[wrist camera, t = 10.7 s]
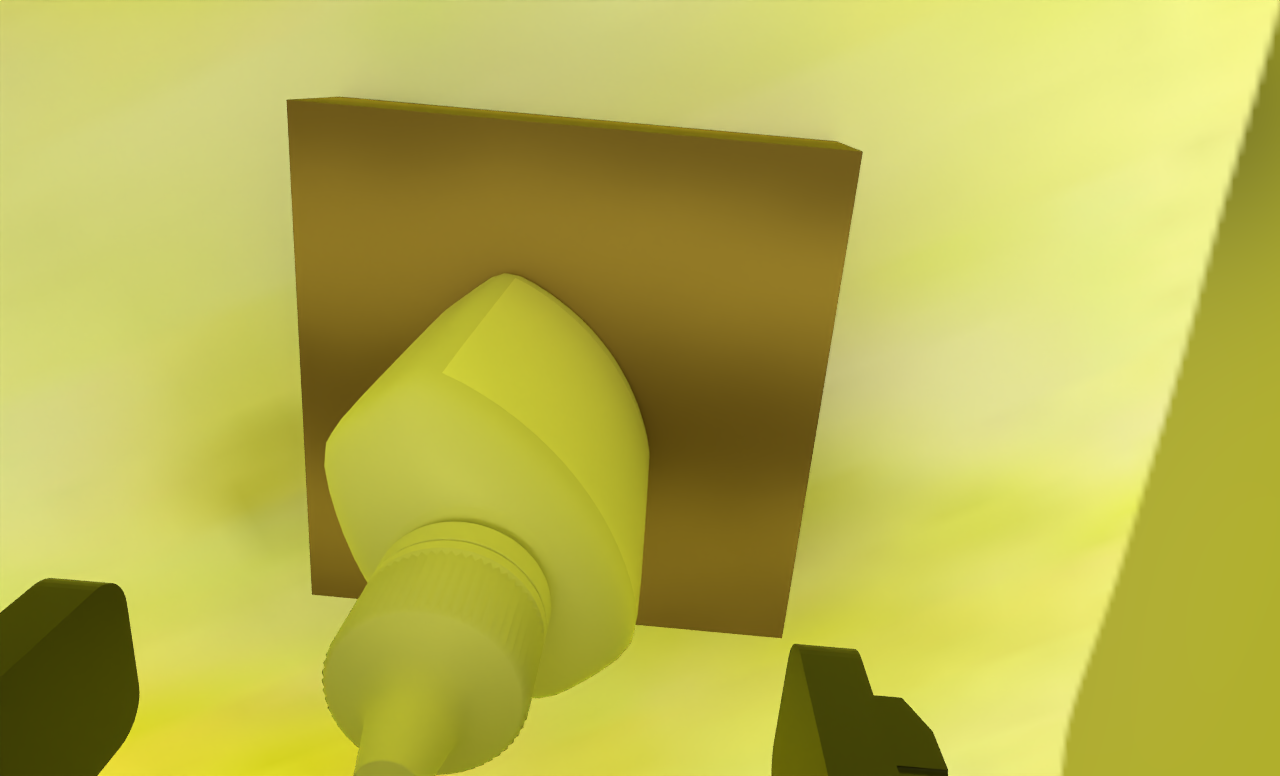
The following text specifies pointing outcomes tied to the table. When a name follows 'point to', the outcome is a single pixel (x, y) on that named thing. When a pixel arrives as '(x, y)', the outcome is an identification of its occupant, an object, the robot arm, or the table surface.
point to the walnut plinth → (592, 307)
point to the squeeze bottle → (484, 530)
